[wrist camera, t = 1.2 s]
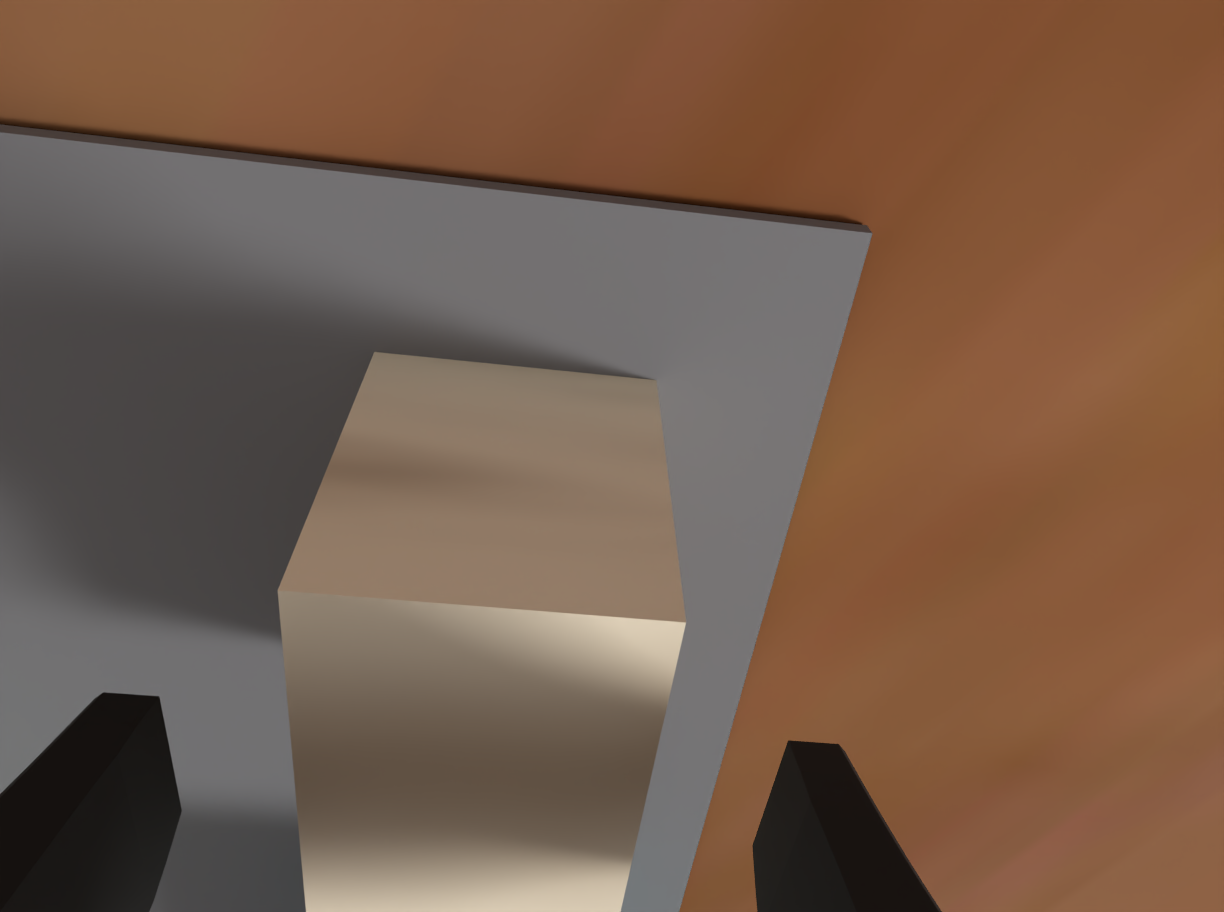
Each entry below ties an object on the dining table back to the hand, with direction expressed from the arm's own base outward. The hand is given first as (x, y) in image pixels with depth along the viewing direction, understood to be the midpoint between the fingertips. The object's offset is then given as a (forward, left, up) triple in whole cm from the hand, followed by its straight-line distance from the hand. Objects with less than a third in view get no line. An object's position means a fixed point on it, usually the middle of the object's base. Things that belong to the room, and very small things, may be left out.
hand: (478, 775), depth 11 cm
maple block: (0, 0, -5) cm, 5 cm away
